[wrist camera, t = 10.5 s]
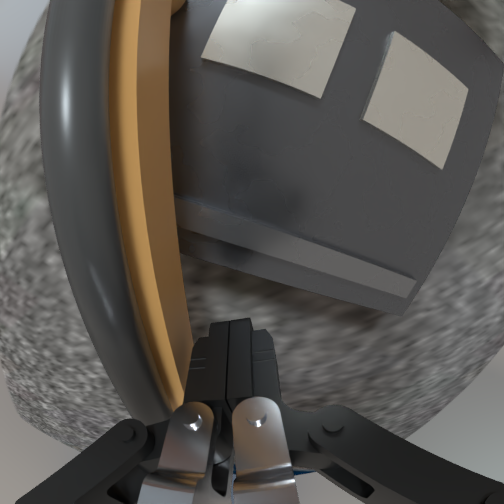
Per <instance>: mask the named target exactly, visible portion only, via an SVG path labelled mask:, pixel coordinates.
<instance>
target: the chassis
mask: <svg viewBox="0 0 504 504" xmlns="http://www.w3.org/2000/svg"><path fill="white" fill-rule="evenodd" d="M503 69H504V64H503V62H502V61H501V60H500V59H499V58H498V57H497V55H496V54H495V53H494V52H493V51H492V50H491V49H490V48H489V47H488V45H487V44H486V43H485V42H484V41H483V40H482V39H481V38H480V37H479V36H478V35H477V34H476V33H475V32H474V31H473V30H472V29H471V28H470V27H469V26H468V25H466V24H465V23H464V22H463V21H462V20H461V19H460V18H459V17H458V16H457V15H455V14H454V13H453V12H452V11H451V10H450V9H448V8H447V7H446V6H445V5H443V4H442V3H441V2H440V1H438V0H185V2H184V4H183V5H182V7H181V8H180V9H179V10H178V11H177V12H175V13H174V14H173V15H171V18H170V38H169V128H170V151H171V168H172V182H173V194H174V206H175V216H176V226H177V235H178V244H179V252H180V253H182V254H185V255H189V256H192V257H195V258H198V259H202V260H205V261H208V262H211V263H215V264H218V265H221V266H225V267H228V268H231V269H235V270H238V271H241V272H245V273H248V274H251V275H255V276H258V277H262V278H265V279H268V280H272V281H275V282H279V283H282V284H286V285H289V286H293V287H296V288H300V289H303V290H307V291H310V292H314V293H317V294H321V295H325V296H328V297H332V298H335V299H339V300H343V301H346V302H350V303H354V304H357V305H361V306H365V307H368V308H372V309H376V310H380V311H384V312H387V313H391V314H395V315H399V316H402V315H403V314H404V312H405V311H406V309H407V308H408V306H409V305H410V303H411V302H412V300H413V299H414V297H415V296H416V294H417V292H418V291H419V289H420V288H421V286H422V284H423V283H424V281H425V279H426V278H427V276H428V274H429V273H430V271H431V269H432V267H433V266H434V264H435V262H436V260H437V258H438V257H439V255H440V253H441V251H442V249H443V247H444V245H445V243H446V242H447V240H448V238H449V236H450V234H451V232H452V230H453V227H454V225H455V223H456V221H457V219H458V217H459V215H460V213H461V210H462V208H463V206H464V203H465V201H466V199H467V196H468V194H469V192H470V189H471V187H472V184H473V182H474V179H475V176H476V174H477V171H478V168H479V165H480V162H481V160H482V157H483V154H484V150H485V147H486V144H487V141H488V138H489V134H490V131H491V127H492V123H493V119H494V115H495V111H496V107H497V103H498V98H499V93H500V88H501V82H502V76H503Z"/></svg>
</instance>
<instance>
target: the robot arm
mask: <svg viewBox="0 0 504 504" xmlns="http://www.w3.org/2000/svg"><path fill="white" fill-rule="evenodd" d="M190 359H191V361H190V364H189V370H188V375H187V381H186V387H185V393H184V399H183V404H182V405H181V406H179V407H178V408H177V409H176V410H175V411H174V412H173V413H172V415H171V418H170V419H168V420H166V421H163V422H159V423H155V424H151V425H147V426H145V425H144V424H143V423H142V422H141V421H139V420H137V419H125V420H122V421H120V422H119V423H117V424H116V425H115V426H114V427H112V428H111V429H110V430H109V431H107V432H106V433H105V434H104V435H103V436H101V437H100V438H99V439H98V440H96V441H95V442H94V443H93V444H91V445H90V446H89V447H88V448H86V449H85V450H84V451H83V452H81V453H80V454H79V455H78V456H76V457H75V458H74V459H72V460H71V461H70V462H68V463H67V464H66V465H65V466H63V467H62V468H61V469H59V470H58V471H57V472H55V473H54V474H53V475H51V476H50V477H49V478H47V479H46V480H45V481H43V482H42V483H40V484H39V485H38V486H36V487H35V488H34V489H32V490H31V491H29V492H28V493H27V494H25V495H24V496H22V497H21V498H20V499H18V500H17V501H16V503H15V504H232V502H231V485H232V475H233V465H234V455H235V462H236V479H235V480H234V484H233V493H234V504H300V502H299V497H298V493H297V488H296V483H295V478H294V474H293V469H292V466H297V467H305V468H313V469H314V470H315V471H317V472H318V473H319V474H321V475H322V476H324V477H325V478H326V479H328V480H329V481H331V482H332V483H334V484H335V485H337V486H338V487H340V488H341V489H343V490H344V491H346V492H347V493H349V494H350V495H352V496H354V497H355V498H357V499H358V500H360V501H362V502H364V503H365V504H504V484H503V483H501V482H499V481H495V480H493V479H490V478H487V477H485V476H483V475H480V474H478V473H475V472H472V471H470V470H468V469H465V468H463V467H461V466H459V465H456V464H453V463H452V462H449V461H447V460H445V459H443V458H441V457H438V456H436V455H434V454H432V453H430V452H428V451H426V450H424V449H422V448H420V447H418V446H416V445H414V444H412V443H410V442H408V441H406V440H404V439H403V438H401V437H399V436H397V435H395V434H393V433H391V432H389V431H388V430H386V429H384V428H382V427H380V426H379V425H377V424H375V423H373V422H371V421H370V420H368V419H366V418H365V417H363V416H361V415H359V414H358V413H356V412H354V411H353V410H351V409H349V408H347V407H345V406H341V405H329V406H325V407H323V408H321V409H319V410H317V411H316V412H315V413H314V412H304V411H297V410H294V409H292V408H290V407H288V406H287V405H285V404H284V403H283V401H282V399H281V391H280V382H279V374H278V366H277V360H276V355H275V349H274V344H273V338H272V337H271V335H270V334H269V333H268V332H267V330H266V329H262V330H256V331H253V326H252V322H251V319H250V318H244V319H237V320H231V321H223V322H215V323H211V324H210V330H209V337H202V338H199V339H198V341H197V342H196V343H195V345H194V346H193V348H192V353H191V358H190ZM233 438H234V447H233Z"/></svg>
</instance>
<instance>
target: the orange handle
mask: <svg viewBox="0 0 504 504" xmlns="http://www.w3.org/2000/svg"><path fill="white" fill-rule="evenodd" d="M184 2H185V0H50V4H49V8H48V13H47V19H46V25H45V31H44V38H43V46H42V56H41V68H40V90H39V113H40V136H41V149H42V159H43V168H44V175H45V182H46V189H47V195H48V201H49V206H50V211H51V216H52V221H53V225H54V230H55V234H56V238H57V242H58V246H59V250H60V253H61V257H62V260H63V264H64V267H65V270H66V274H67V277H68V280H69V283H70V286H71V289H72V292H73V295H74V298H75V300H76V303H77V306H78V309H79V311H80V314H81V316H82V319H83V321H84V324H85V326H86V329H87V331H88V334H89V336H90V338H91V340H92V343H93V345H94V347H95V349H96V352H97V354H98V356H99V358H100V360H101V362H102V364H103V366H104V368H105V370H106V372H107V374H108V376H109V378H110V380H111V382H112V384H113V386H114V387H115V389H116V391H117V393H118V395H119V396H120V398H121V400H122V402H123V403H124V405H125V407H126V409H127V410H128V412H129V413H130V415H131V417H132V418H133V419H137V420H139V421H141V422H142V423H143V424H144V425H145V426H147V425H151V424H155V423H159V422H163V421H166V420H168V419H170V418H171V415H172V413H173V412H174V411H175V410H176V409H177V408H178V407H179V406H181V405H182V404H183V399H184V393H185V387H186V381H187V375H188V370H189V364H190V361H191V359H190V358H191V353H192V348H193V346H194V343H193V338H192V332H191V327H190V321H189V315H188V309H187V302H186V296H185V289H184V283H183V275H182V268H181V260H180V252H179V244H178V235H177V226H176V216H175V206H174V194H173V182H172V168H171V151H170V128H169V38H170V18H171V15H173V14H174V13H175V12H177V11H178V10H179V9H180V8H181V7H182V5H183V4H184Z"/></svg>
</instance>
